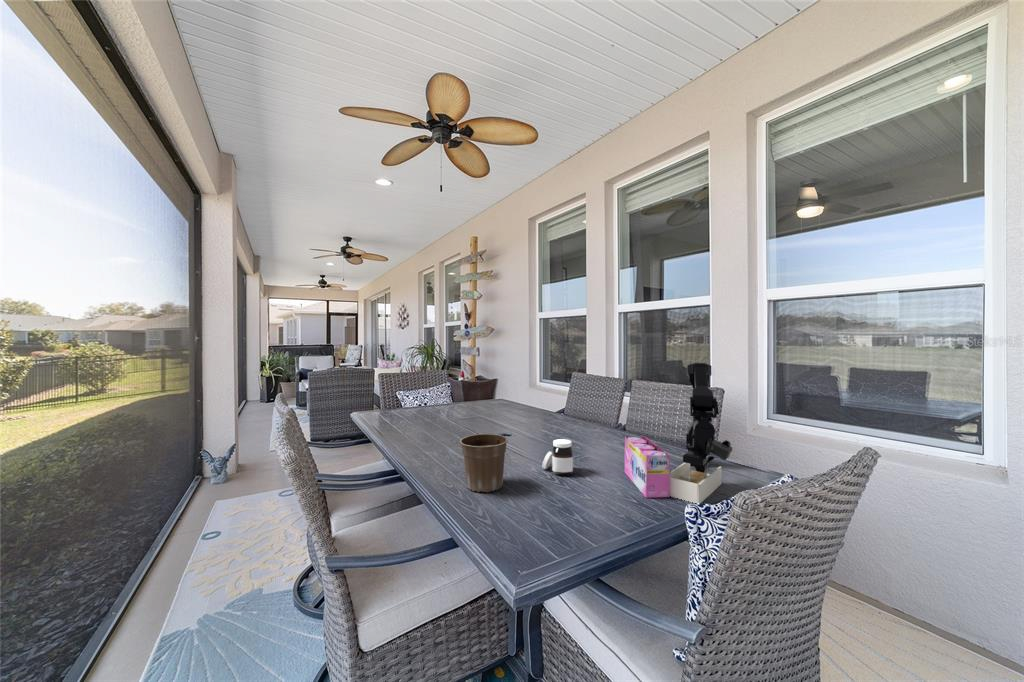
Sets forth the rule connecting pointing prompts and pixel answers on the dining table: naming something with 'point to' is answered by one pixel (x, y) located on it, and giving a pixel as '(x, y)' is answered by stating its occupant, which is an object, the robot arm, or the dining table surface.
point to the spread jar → (560, 457)
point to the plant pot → (484, 461)
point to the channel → (693, 484)
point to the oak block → (697, 477)
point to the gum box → (647, 466)
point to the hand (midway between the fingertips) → (702, 478)
